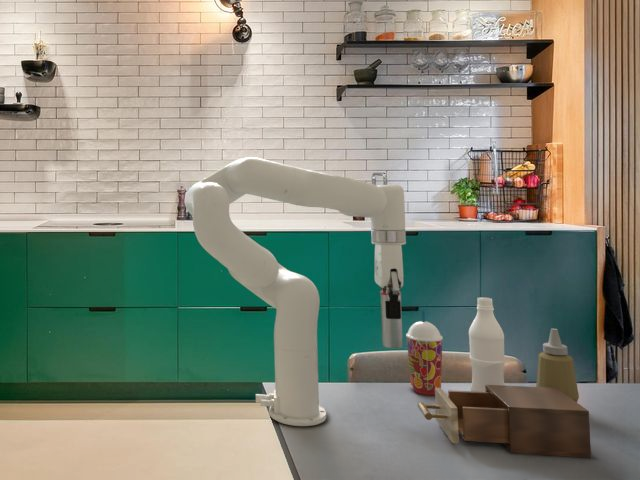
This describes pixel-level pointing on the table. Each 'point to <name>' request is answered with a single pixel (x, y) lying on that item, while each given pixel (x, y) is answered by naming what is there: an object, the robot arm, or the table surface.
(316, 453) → the table surface
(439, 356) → the smoothie
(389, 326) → the spice tin
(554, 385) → the squeeze bottle
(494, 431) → the drawer
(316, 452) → the table surface
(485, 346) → the water bottle
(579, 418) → the cabinet
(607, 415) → the table surface
